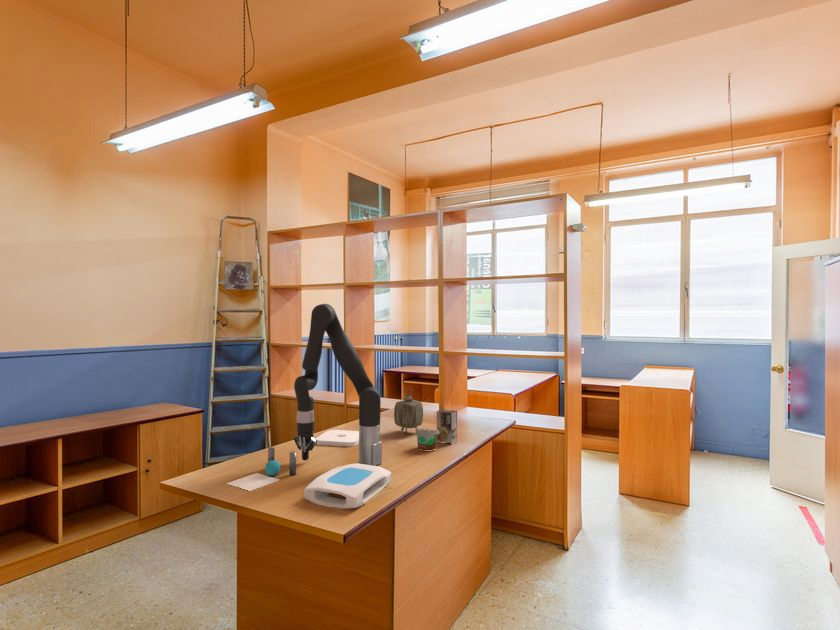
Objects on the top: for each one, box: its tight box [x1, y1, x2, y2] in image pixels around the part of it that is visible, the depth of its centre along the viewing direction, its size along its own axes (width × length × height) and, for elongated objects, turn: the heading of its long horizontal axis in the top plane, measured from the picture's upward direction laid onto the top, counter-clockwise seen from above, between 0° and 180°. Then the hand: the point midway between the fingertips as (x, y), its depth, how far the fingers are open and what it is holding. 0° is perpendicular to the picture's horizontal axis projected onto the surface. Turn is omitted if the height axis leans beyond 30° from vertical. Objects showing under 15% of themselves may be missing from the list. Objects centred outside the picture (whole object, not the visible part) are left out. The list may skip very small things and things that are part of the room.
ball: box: [264, 460, 281, 477], centre depth 183 cm, size 6×6×6 cm
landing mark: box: [225, 472, 280, 492], centre depth 175 cm, size 14×14×1 cm
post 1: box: [267, 446, 276, 463], centre depth 191 cm, size 3×3×9 cm
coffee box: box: [436, 408, 458, 443], centre depth 233 cm, size 9×6×16 cm
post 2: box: [288, 451, 297, 477], centre depth 184 cm, size 3×3×9 cm
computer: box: [314, 429, 359, 448], centre depth 236 cm, size 22×22×3 cm
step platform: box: [303, 462, 392, 510], centre depth 166 cm, size 21×28×6 cm
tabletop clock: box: [393, 387, 424, 435], centre depth 251 cm, size 14×9×25 cm, turn 58°
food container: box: [415, 427, 440, 450], centre depth 219 cm, size 12×6×10 cm, turn 68°
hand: (305, 459), depth 198 cm, fingers closed
